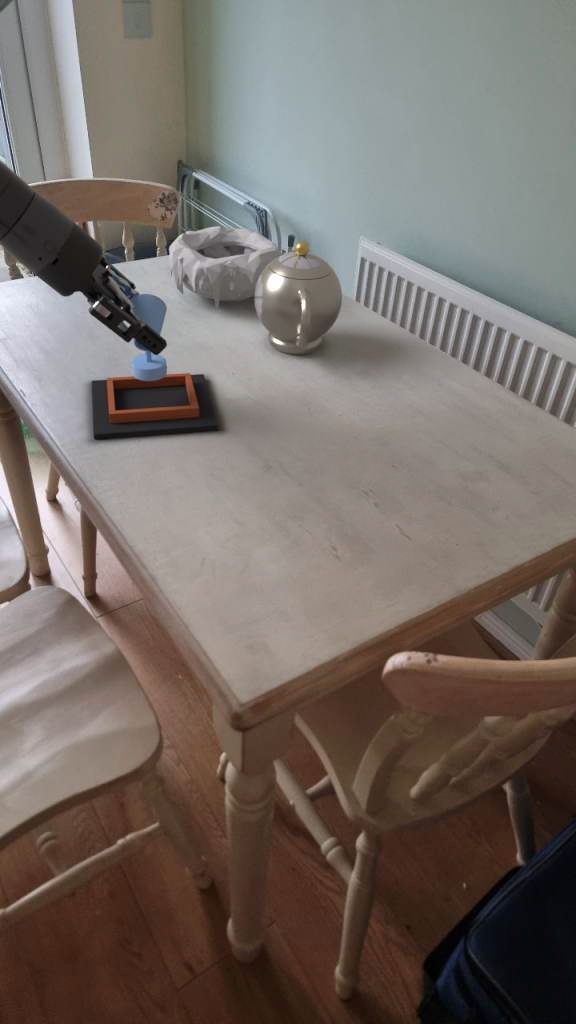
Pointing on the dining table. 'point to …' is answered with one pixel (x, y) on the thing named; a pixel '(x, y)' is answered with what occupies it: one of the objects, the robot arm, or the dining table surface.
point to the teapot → (298, 300)
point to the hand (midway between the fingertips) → (159, 335)
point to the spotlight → (153, 316)
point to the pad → (151, 406)
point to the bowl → (220, 262)
